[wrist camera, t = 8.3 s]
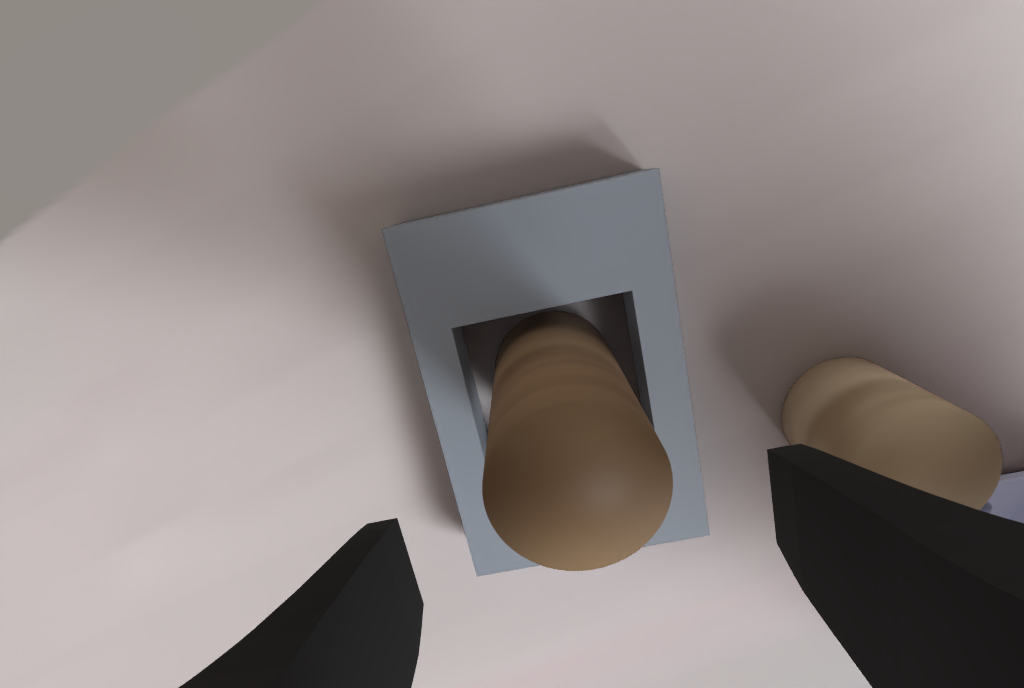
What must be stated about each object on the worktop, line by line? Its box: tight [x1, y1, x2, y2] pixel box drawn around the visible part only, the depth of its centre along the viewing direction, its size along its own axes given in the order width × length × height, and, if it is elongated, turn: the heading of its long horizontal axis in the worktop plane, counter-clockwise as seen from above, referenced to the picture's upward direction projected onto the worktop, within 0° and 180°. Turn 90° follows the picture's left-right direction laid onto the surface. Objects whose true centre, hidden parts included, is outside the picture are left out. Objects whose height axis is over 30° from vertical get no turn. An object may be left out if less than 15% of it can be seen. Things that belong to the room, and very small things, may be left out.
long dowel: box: [482, 312, 673, 571], centre depth 16 cm, size 4×4×8 cm
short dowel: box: [782, 357, 1003, 510], centre depth 18 cm, size 4×4×4 cm
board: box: [382, 168, 710, 576], centre depth 19 cm, size 12×8×2 cm, turn 12°
